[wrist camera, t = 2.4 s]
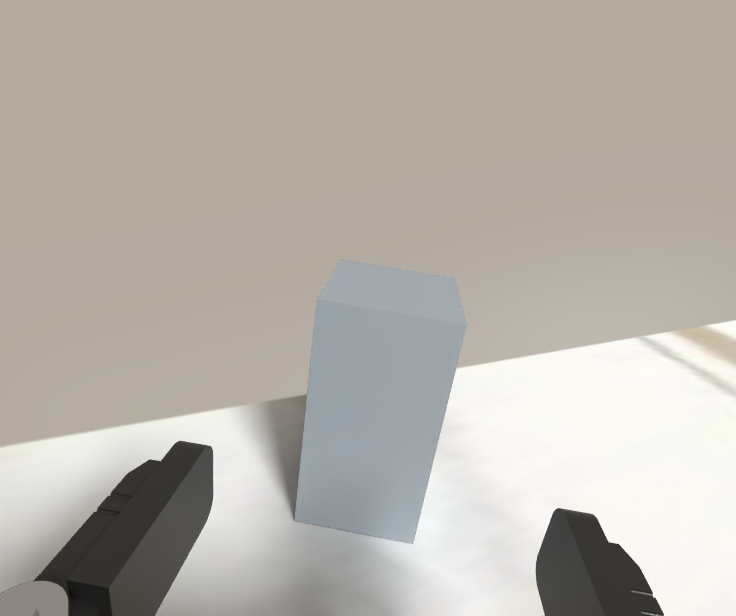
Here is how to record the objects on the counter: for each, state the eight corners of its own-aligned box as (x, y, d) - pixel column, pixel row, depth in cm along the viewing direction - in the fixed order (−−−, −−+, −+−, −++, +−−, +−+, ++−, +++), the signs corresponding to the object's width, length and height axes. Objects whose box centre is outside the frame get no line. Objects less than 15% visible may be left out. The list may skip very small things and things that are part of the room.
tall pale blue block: (294, 520, 22) (316, 298, 18) (319, 443, 28) (341, 259, 23) (413, 543, 22) (466, 324, 17) (414, 460, 28) (455, 277, 23)
